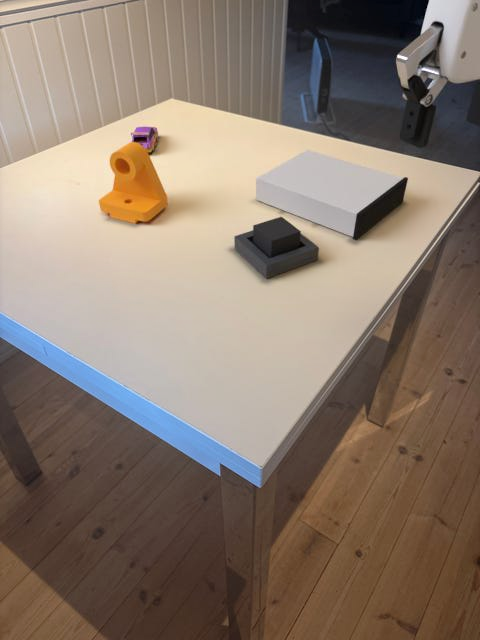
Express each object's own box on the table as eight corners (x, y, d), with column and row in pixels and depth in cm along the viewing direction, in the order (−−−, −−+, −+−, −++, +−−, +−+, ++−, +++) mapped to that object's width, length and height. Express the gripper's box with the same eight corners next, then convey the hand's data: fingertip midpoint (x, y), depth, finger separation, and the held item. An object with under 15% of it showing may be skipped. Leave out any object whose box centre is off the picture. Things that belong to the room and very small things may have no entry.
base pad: (283, 232, 86) (284, 220, 84) (317, 260, 80) (319, 247, 78) (234, 248, 82) (234, 236, 81) (266, 279, 76) (266, 265, 74)
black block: (280, 237, 83) (281, 216, 80) (299, 252, 79) (300, 231, 77) (252, 246, 81) (253, 225, 78) (270, 262, 77) (271, 241, 75)
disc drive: (356, 240, 84) (360, 214, 81) (255, 201, 95) (255, 177, 92) (403, 202, 94) (408, 178, 91) (306, 170, 105) (308, 148, 102)
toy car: (160, 136, 121) (158, 117, 118) (153, 155, 112) (151, 135, 109) (138, 136, 121) (135, 117, 118) (129, 155, 112) (126, 135, 109)
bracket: (99, 214, 92) (85, 152, 84) (121, 198, 97) (110, 137, 89) (147, 226, 88) (137, 162, 80) (168, 208, 93) (160, 146, 85)
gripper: (467, -74, 33) (412, 165, 45) (613, -83, 40) (533, 128, 51) (390, -78, 38) (358, 138, 50) (531, -85, 45) (474, 108, 56)
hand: (446, 133), depth 50 cm, fingers open, 9 cm apart
